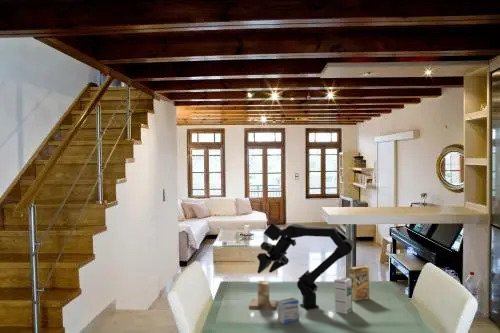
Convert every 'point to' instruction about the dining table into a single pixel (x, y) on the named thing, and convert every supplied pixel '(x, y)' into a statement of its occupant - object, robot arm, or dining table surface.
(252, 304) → the walnut slab
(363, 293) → the candy box
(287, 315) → the medicine box
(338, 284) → the syrup box
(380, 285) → the dining table surface
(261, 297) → the oak pillar
